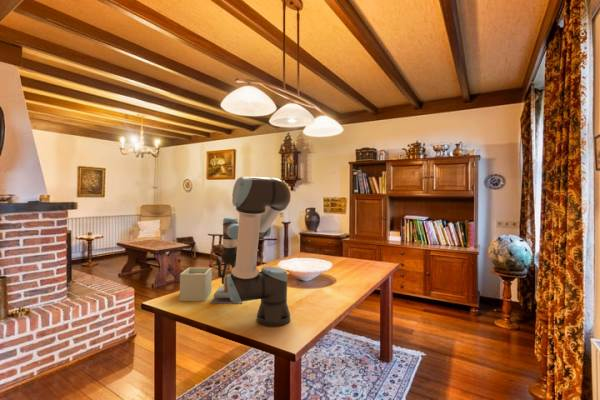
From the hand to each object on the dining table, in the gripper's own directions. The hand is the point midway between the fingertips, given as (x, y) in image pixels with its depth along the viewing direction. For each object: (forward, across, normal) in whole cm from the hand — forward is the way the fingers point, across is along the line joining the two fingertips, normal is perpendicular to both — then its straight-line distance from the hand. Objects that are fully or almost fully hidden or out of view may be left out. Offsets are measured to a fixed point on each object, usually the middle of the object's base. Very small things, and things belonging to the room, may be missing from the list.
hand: (229, 289), depth 158 cm
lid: (+2, 0, 0) cm, 2 cm away
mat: (+5, 0, 0) cm, 5 cm away
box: (+5, +18, -2) cm, 19 cm away
